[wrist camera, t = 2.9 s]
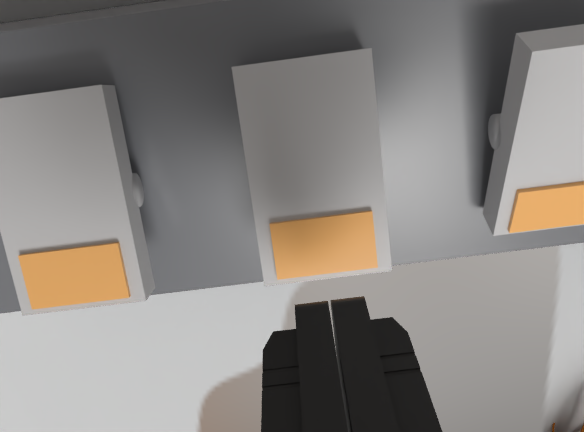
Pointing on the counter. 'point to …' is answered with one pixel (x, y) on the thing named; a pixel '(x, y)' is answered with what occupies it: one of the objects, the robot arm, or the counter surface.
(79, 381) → the counter surface
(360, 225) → the rocker middle
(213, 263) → the power strip
